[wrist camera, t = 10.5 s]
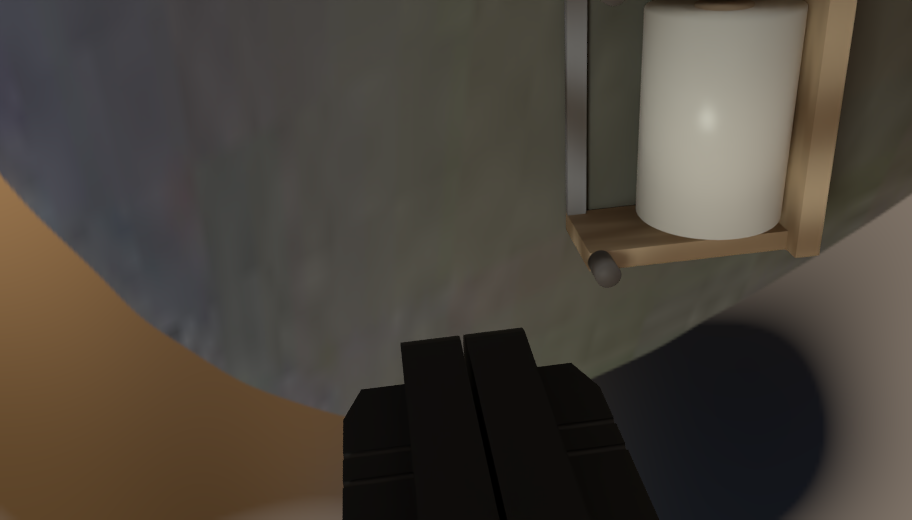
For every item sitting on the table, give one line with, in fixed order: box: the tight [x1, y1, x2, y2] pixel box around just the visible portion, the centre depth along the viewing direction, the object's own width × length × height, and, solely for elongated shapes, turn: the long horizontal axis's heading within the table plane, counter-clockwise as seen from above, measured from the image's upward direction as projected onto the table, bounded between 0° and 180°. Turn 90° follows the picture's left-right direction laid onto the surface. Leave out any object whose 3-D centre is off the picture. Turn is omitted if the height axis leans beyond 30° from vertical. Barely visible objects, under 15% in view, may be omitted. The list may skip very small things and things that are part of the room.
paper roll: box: [636, 0, 808, 240], centre depth 39 cm, size 10×7×7 cm
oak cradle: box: [565, 0, 857, 288], centre depth 39 cm, size 14×11×7 cm
